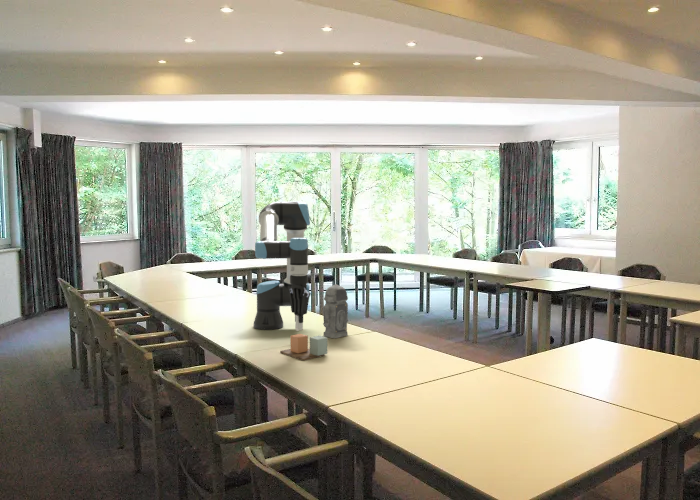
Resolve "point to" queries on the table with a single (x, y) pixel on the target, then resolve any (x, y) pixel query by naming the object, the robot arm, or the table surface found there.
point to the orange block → (299, 343)
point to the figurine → (335, 312)
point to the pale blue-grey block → (318, 345)
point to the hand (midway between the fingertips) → (299, 330)
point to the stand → (300, 354)
